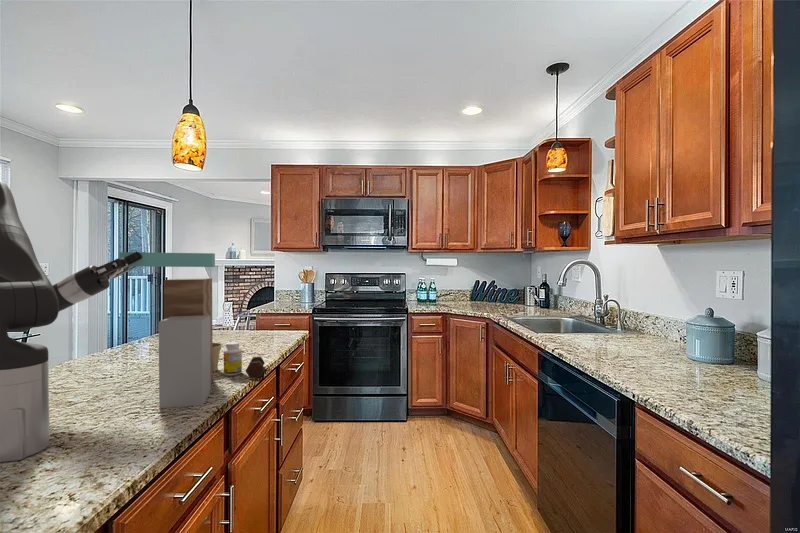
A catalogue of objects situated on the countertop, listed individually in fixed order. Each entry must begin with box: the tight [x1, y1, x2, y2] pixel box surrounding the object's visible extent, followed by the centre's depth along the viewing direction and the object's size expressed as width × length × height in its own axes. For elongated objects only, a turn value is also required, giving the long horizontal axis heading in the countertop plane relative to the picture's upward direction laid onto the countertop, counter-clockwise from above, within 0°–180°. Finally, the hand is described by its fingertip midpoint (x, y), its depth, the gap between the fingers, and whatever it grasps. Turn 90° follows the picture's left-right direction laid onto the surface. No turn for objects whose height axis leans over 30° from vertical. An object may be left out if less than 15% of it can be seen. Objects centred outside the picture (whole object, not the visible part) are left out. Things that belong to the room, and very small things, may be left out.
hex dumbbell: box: [245, 356, 266, 379], centre depth 136 cm, size 6×5×15 cm
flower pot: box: [212, 342, 223, 373], centre depth 137 cm, size 9×9×9 cm
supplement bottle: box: [223, 341, 243, 377], centre depth 133 cm, size 6×6×10 cm
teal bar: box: [118, 251, 216, 268], centre depth 117 cm, size 4×24×4 cm, turn 103°
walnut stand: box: [163, 277, 214, 383], centre depth 119 cm, size 12×10×32 cm
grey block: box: [158, 315, 212, 409], centre depth 108 cm, size 10×10×22 cm
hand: (143, 254), depth 116 cm, fingers closed on teal bar, 4 cm apart
